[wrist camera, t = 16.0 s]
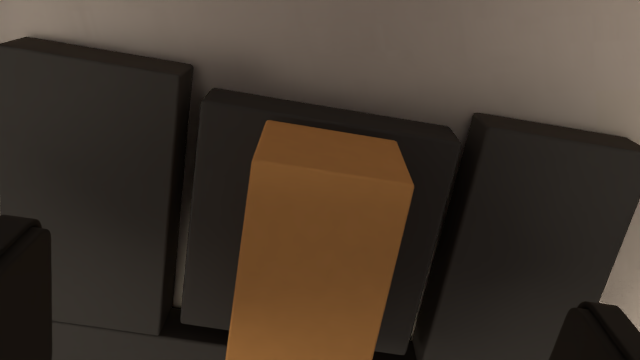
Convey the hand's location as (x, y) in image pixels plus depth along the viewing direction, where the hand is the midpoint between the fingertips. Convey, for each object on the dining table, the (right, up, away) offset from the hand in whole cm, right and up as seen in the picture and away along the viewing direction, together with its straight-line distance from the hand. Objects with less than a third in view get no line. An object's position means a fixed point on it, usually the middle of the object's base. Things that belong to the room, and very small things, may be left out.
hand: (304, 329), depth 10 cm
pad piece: (0, +2, +6) cm, 6 cm away
